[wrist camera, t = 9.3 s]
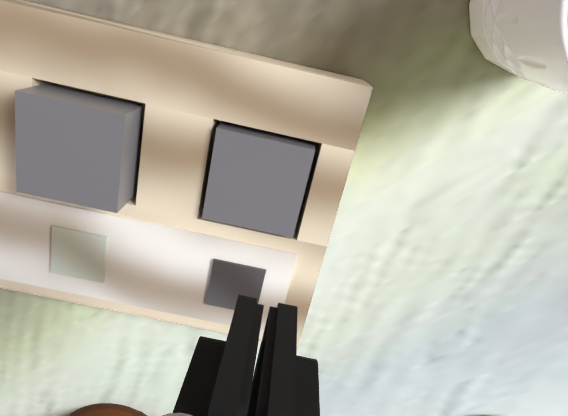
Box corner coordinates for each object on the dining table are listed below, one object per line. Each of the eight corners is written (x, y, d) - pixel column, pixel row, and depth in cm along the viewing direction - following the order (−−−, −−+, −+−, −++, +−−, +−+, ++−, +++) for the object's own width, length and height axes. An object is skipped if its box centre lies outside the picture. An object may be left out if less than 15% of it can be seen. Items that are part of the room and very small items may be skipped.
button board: (297, 313, 30) (297, 352, 27) (-101, 231, 29) (-158, 260, 25) (363, 79, 24) (374, 88, 21) (-137, -38, 23) (-218, -50, 19)
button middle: (134, 194, 24) (117, 213, 22) (44, 175, 24) (16, 191, 22) (143, 105, 22) (125, 115, 20) (45, 83, 22) (14, 90, 20)
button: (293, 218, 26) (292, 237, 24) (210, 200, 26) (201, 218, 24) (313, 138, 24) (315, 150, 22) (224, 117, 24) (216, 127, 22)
